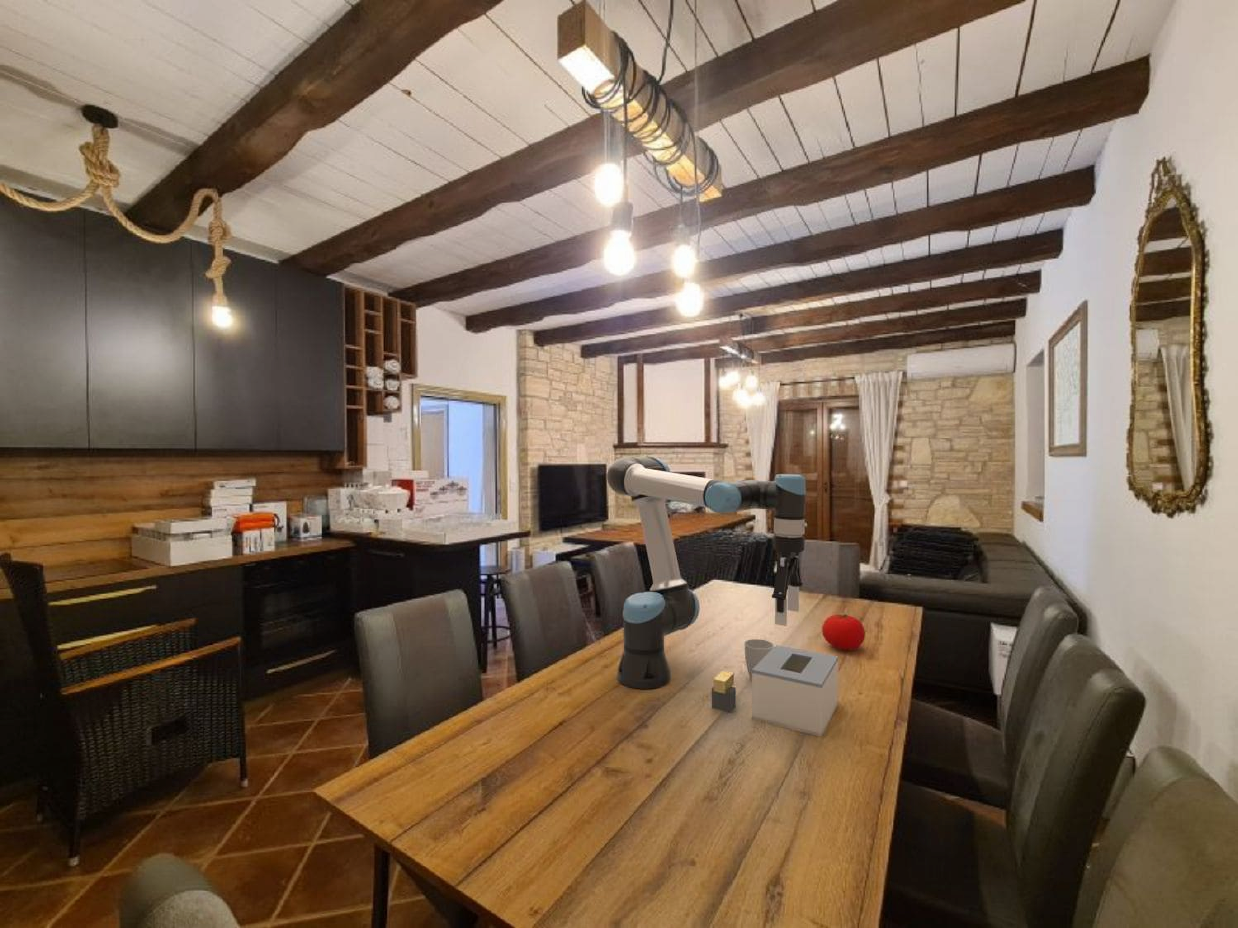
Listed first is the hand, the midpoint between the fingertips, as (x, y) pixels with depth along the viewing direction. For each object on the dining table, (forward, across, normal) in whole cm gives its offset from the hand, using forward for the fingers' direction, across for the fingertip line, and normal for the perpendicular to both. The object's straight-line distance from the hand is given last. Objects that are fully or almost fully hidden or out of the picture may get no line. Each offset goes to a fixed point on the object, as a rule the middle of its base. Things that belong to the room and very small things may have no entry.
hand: (787, 617), depth 139 cm
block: (+22, -10, +13) cm, 28 cm away
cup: (+23, +12, +10) cm, 27 cm away
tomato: (+22, +50, -7) cm, 55 cm away
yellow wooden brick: (+17, -10, +13) cm, 24 cm away
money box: (+22, -3, -3) cm, 23 cm away
